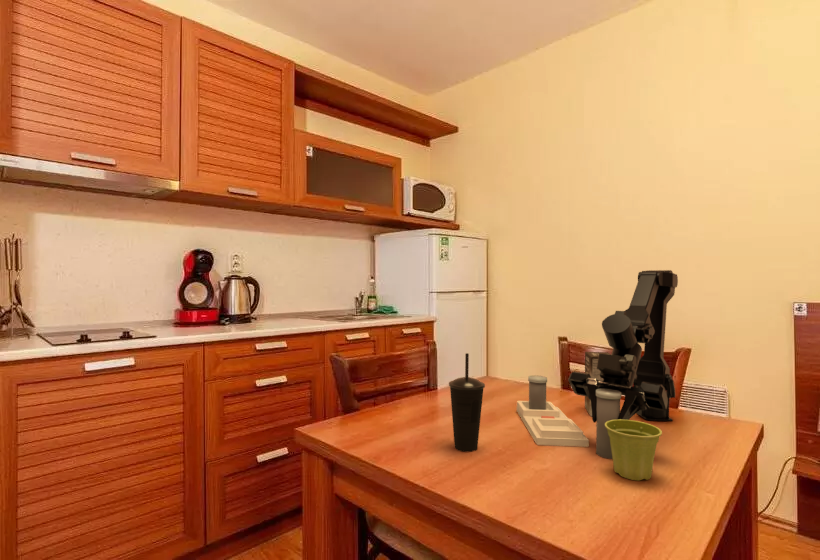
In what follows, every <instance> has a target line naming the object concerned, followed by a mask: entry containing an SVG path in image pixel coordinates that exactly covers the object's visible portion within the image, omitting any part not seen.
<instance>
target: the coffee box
mask: <svg viewBox="0 0 820 560" xmlns="http://www.w3.org/2000/svg"><path fill="white" fill-rule="evenodd" d="M599 354H608V355H611V354H612V353H610V352H607V351H603V352H602V351H585V352H584V373H589V374H590V376H591V378H593V379H597V380H598V381H601V382H603V378H601V377H600V370H599V369H597V363H598V357H599ZM584 408H585V410H586V411H587V413H588V414H589V416H590V417H591V418H592V408H591V400H590V399H589V398H588V397H587V396H584Z"/></svg>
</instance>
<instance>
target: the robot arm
mask: <svg viewBox="0 0 820 560" xmlns="http://www.w3.org/2000/svg"><path fill="white" fill-rule="evenodd" d="M678 283H679V279H678V274H677V273H673V270H671V269H666V270H665V269H663V270H662V269H659V270H658V269H657V270H652V269H651V270H642V271H638V274H637V284H636V287H635V289H634V292H633V295H632V298H631V300H630V304H629V306H628V308H627V309H625V310H615V312H614V313H613V314H610V315H609V316H606V317H605V318H604V319H603V320H602V322H601V327H602V329H603V332H604V336H605V337H606V338H605V339H606V340H607V344H608V345H609V347H611V348H612V350H611V353H610V354H611V355H608V354H599V357H598V363H597V369H599V370H600V377H601V378H603V382H601V381H598V380H597V379H593V378H591V376H590V374H589V373H585V372H581V371H572V372H570V374H569V376H568V379H567V380H568V383H569V384H570V387H571V389H572V392H573V393H574V394H575V395H577V396H582V397H585V396H587V397H588V398H589V399H590V400H591V408H592V417H591V419H592V422H593V423H595V424H597V396H596V389H613V390H617V391H620V392H621V396H624V400H623V404H622V406H621V408H620V414H619V417H618V419H623V420H630V419H631V418H632V417H634V416H635V415H636V414H637V415H638V416H640V417H641V418H643V419H645V421H653V422H654V421H657V422H658V421H659V422H661V421H662V422H663V421H664V422H673V418H672V417H670V399H674V398H676V387H675V382H674V380H673V377H672V374H671V373H670V372H671V369H670V367H669V364H668V363H667V361H666V360H665V358H664V354H665V340H666V339H665V338H666V322H667V307H668V306H667V305H668V303H669V302H670V301H671V300H672V298H673V297H674V296H675V293H676V292H675V291H676V288H678V286H679V285H678ZM641 344H644V348H642V346H641ZM643 349H644V350H643ZM642 351H643V355H642Z"/></svg>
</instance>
